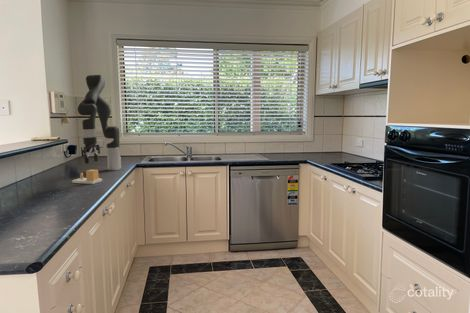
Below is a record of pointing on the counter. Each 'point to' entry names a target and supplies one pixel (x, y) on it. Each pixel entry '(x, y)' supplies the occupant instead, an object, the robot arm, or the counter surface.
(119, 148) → the robot arm
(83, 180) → the base
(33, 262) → the counter surface
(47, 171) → the counter surface
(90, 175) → the light orange block
